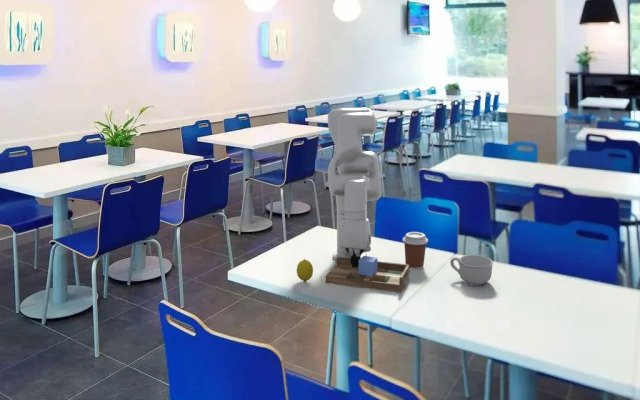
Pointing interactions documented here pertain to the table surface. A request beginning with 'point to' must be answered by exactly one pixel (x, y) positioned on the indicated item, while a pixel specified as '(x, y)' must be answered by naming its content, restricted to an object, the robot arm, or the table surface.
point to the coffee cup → (415, 249)
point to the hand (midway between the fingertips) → (355, 266)
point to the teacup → (473, 268)
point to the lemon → (304, 270)
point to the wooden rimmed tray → (383, 279)
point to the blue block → (367, 266)
